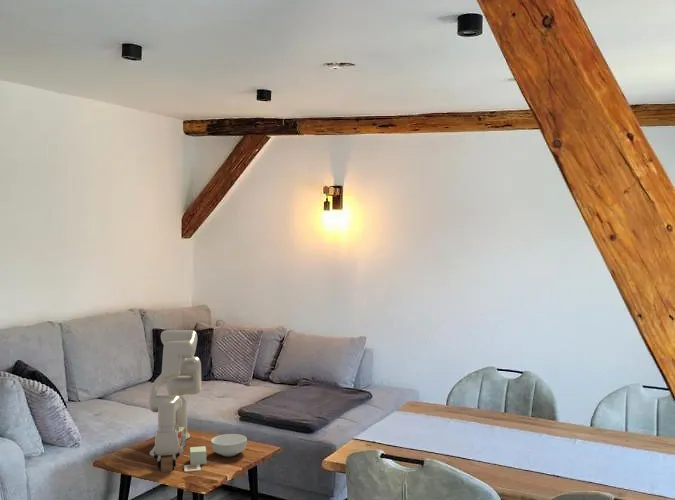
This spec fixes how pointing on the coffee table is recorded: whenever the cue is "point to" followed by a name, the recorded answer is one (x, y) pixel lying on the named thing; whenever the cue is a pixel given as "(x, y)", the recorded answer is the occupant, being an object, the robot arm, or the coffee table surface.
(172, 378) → the robot arm
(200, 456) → the sage base block
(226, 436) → the cereal bowl
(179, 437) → the stack of blocks
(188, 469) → the tile
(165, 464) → the walnut block
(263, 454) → the coffee table surface
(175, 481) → the coffee table surface
